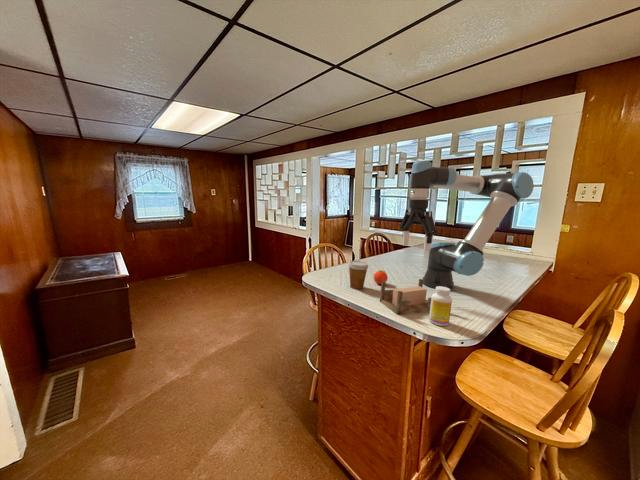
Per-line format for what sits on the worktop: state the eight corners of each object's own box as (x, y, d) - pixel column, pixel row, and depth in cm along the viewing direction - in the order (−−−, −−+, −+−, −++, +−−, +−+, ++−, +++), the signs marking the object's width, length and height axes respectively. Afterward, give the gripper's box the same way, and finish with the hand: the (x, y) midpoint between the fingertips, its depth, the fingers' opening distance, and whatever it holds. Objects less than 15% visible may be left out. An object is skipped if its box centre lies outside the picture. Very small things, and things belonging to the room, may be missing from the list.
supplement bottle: (451, 328, 90) (456, 292, 88) (431, 325, 92) (435, 290, 89) (445, 319, 97) (450, 286, 95) (426, 317, 98) (430, 284, 96)
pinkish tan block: (418, 299, 112) (419, 286, 111) (425, 303, 109) (426, 289, 108) (392, 303, 106) (393, 289, 105) (398, 307, 103) (400, 292, 102)
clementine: (377, 280, 140) (379, 267, 139) (390, 283, 136) (391, 270, 135) (370, 283, 134) (371, 270, 133) (383, 287, 130) (384, 273, 129)
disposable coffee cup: (367, 285, 131) (369, 262, 129) (365, 291, 122) (367, 266, 120) (348, 282, 133) (350, 259, 131) (345, 288, 124) (347, 264, 122)
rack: (419, 298, 117) (421, 278, 116) (440, 310, 105) (443, 289, 103) (379, 301, 111) (381, 281, 109) (397, 314, 99) (399, 292, 97)
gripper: (393, 198, 121) (391, 243, 125) (434, 199, 98) (429, 254, 102) (406, 198, 124) (403, 242, 128) (449, 199, 101) (444, 253, 105)
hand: (415, 247), depth 115 cm, fingers open, 13 cm apart
